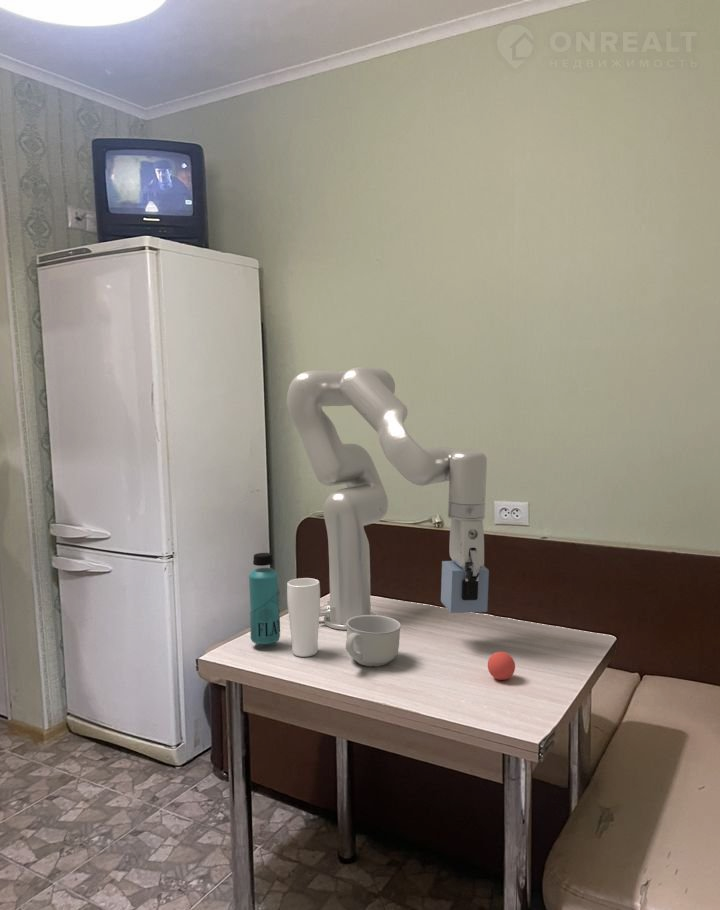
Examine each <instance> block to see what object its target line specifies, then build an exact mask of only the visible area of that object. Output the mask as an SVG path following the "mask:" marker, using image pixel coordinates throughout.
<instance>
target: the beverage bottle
mask: <svg viewBox="0 0 720 910" xmlns="http://www.w3.org/2000/svg"><path fill="white" fill-rule="evenodd" d="M273 563H274V560H273V554H272V553H270V552H259V553H254V554H253V560H252V564H253V565H254V566H256V567H257V566H258V568H255V569H253V570H252V571H251V572H250V573H249V574H248V582H249V584H248V585H249V588H248V589H249V608H250V610H249V619H250V620H249V621H250V622H249V623H250V624H249V625H250V631H249V632H250V640H251V642H252V643H254V644H258V645H269V644H274V643H275V642H276V643H277V642H278V641H279V640H280V638H281V620H280V619H281V614H280V612H281V611H280V606H281V605H280V589H279V574H278V572H277V571H276V569H274V568H272V567H265V566H270V565H273Z"/></svg>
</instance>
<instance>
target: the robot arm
mask: <svg viewBox="0 0 720 910" xmlns="http://www.w3.org/2000/svg"><path fill="white" fill-rule="evenodd" d="M395 391H396V383H395V380H394V377H393V376H392V375H391V373H389V372H388V371H387V369H384V368H380V367H372V366H371V367H369V366H358V367H357V366H356V367H353V368H350V369H349V370H342V371H341V370H318V369H315V370H314V369H313V370H312V369H311V370H308V371H307V370H306V371H304V372H301V373H298V375H296V376H295V377H294V378H293V380H292V381H291V383H290V384H289V387H288V390H287V394H286V396H287V397H286V404H287V409H288V413H289V416H290V419H291V420H292V423H293V424H294V426H295V429H296V430H297V433H298V434H299V437H300V440H301V442H302V445H303V448H304V450H305V452H306V455H307V457H308V460H309V462H310V463H309V464H310V465H311V468H312V470H313V473H314V475H315V477H316V480H317V481H318V482H319V483H320V484H321V485H323V486H328V487H331V486H332V487H333V486H340V485H346V487H344V488H340V489H338V490H335V491H334V492H332V493H331V494H329V495H328V497H327V498H326V500H325V501H324V505H323V518H324V523H325V527H326V532H327V533H326V534H327V540H328V541H327V543H328V565H329V566H328V567H329V569H328V570H329V575H328V577H329V600H328V601H327V604H323V605H322V606H320V613H319V618H320V617H323V623H324V625H326V627H328V628H331V629H335V630H342V631H347V621H348V620H349V619H350V618H353V617H355V616H361V615H377V614H376V613H374V612H373V611H371V607H372V606H371V605H372V604H371V561H370V560H371V555H370V553H371V552H370V543H369V539H368V537H367V536H368V535H367V534H366V531H365V528H364V527H365V526H368V525H372V524H375V523H378V522H380V521H381V520H383V519H384V517H386V515H387V513H388V510H389V509H388V508H389V499H388V496H387V492H386V489H385V487H384V486H383V483H382V481H381V478H380V476H379V473H378V470H377V468H376V466H375V463H374V461H373V458H372V456H371V455H370V453H369V452H368V451H367V450H366V449H365V448H364V447H363V446H361V445H359V444H356V443H343V442H342V440H341V438H340V436H339V433H338V431H337V428H336V426H335V424H334V423H333V421H332V419H331V418H330V417H329V416H328V415H327V414H326V413H325V411H323V407H342V406H343V407H345V406H352V407H353V409H355V410H356V412H357V413H358V414H359V415H360V416H361V417H362V418H363V419H364V420H365V422H367V423H368V424H369V425H370V427H372V428H373V429H374V430H375V432H376V433H377V434H378V440H379V443H380V446H381V449H382V452H383V454H384V456H385V458H386V459H387V460H388V462H389V463H390V464H391V465H392V466H393V467H394V468H395V469H396V471H398V472H399V474H400V475H402V477H404V479H406V480H407V482H410V483H412V484H414V485H417V486H421V487H424V486H428V485H432V484H438V483H440V484H441V483H444V482H448V501H447V502H448V504H447V507H448V508H447V517H448V518H449V519H451V520H450V528H449V529H450V530H449V549H448V550H449V557H450V559H451V561H454V562H455V563H456V564H458V565H459V566H460V567H461V568H463V571H464V574H463V575H464V580H462V599H463V600H477V599H478V581H479V570H480V568H482V567H483V566H484V567H485V532H484V523H483V520H485V518H486V497H487V496H486V491H487V469H488V467H487V466H488V465H487V464H488V463H487V462H488V459H487V456H486V454H485V453H484V452H482V451H477V450H464V449H462V450H460V449H455V448H450V447H446V446H436V447H427V448H423V447H422V446H421V445H419V443H418V442H417V441H416V440H415V439H414V438H413V437H412V436H411V435H410V433H409V432H408V431H407V429H406V427H405V424H404V422H405V421H406V419H407V416H408V413H409V411H408V408H407V406H406V405H405V404H404V403H403V402H402V401H401V400H400V399H399V398H398V396H396V395H395ZM466 564H471V565H467V566H466ZM467 570H471V571H469V573H467Z"/></svg>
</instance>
